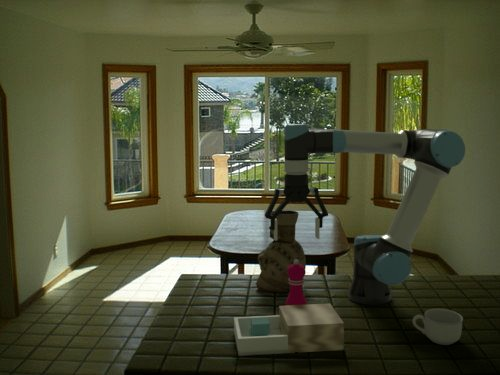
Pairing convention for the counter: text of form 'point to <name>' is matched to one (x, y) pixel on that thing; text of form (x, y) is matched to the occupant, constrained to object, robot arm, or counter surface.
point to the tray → (259, 337)
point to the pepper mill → (296, 284)
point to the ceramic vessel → (280, 255)
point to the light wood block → (311, 328)
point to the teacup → (441, 325)
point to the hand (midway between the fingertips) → (296, 238)
